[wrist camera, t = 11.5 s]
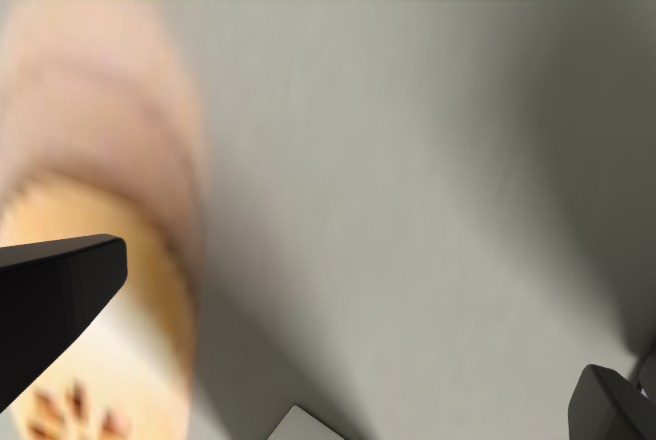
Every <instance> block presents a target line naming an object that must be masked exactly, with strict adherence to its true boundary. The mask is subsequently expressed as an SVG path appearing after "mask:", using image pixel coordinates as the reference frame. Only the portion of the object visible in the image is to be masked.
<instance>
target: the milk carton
mask: <svg viewBox="0 0 656 440" xmlns="http://www.w3.org/2000/svg"><path fill="white" fill-rule="evenodd" d="M267 440H345V439H343V438H342V437H340V436H339V435H338V434H336V433H335V432H333V431H332V430H331V429H329V428H328V427H326V426H325V425H323V424H322V423H321V422H319V421H318V420H316V419H315V418H313V417H312V416H311V415H309V414H308V413H306V412H305V411H304V410H302V409H301V408H299V407H298V406H296V405H294V406H293V407H292V408H291V410H290V411H289V412H288V413H287V415H286V416H285V417H284V418H283V420H282V421H281V422H280V424H279V425H278V426H277V427H276V429H275V430H274V431H273V433H272V434H271V435H270V436H269V438H268V439H267Z"/></svg>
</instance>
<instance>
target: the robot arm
mask: <svg viewBox="0 0 656 440" xmlns="http://www.w3.org/2000/svg"><path fill="white" fill-rule="evenodd" d="M127 274H128V270H127V248H126V243H125V241H124V240H123V239H122V238H120V237H117V236H113V235H110V234H98V235H90V236H83V237H75V238H68V239H60V240H53V241H45V242H38V243H31V244H23V245H16V246H8V247H1V248H0V414H1V413H2V412H3V411H4V410H5V409H6V408H7V407H8V406H9V405H10V404H11V403H12V402H13V401H14V400H15V399H16V398H17V397H18V396H19V395H20V394H21V393H22V392H23V391H24V390H25V389H26V388H27V387H29V386H30V385H31V384H32V383H33V382H34V381H35V380H36V379H37V378H38V377H39V376H40V375H41V374H42V373H43V372H44V371H45V370H46V369H47V368H48V367H49V366H50V365H51V364H52V363H53V362H54V361H55V360H56V359H57V358H58V357H59V356H60V355H61V354H62V353H63V352H64V351H66V350H67V349H68V348H69V347H70V346H71V345H72V344H73V343H74V341H75V340H76V339H77V338H78V337H79V336H80V335H81V334H82V333H83V332H84V331H85V329H86V328H87V327H88V326H89V325H90V324H91V322H92V321H93V320H94V319H95V318H96V317H97V315H98V314H99V313H100V312H101V311H102V309H103V308H104V307H105V306H106V305H107V304H108V302H109V301H110V300H111V299H112V298H113V297H114V295H115V294H116V293H117V292H118V291H119V289H120V288H121V287H122V286H123V285H124V283H125V281H126V278H127ZM638 379H639V381H640V383H639V385H638V387H637V389H636V388H635V387H634V386H633V385H632V384H631V383H629V382H628V381H627V380H626V379H625V378H624V377H622V376H621V375H620V374H619V373H618V372H616V371H615V370H613V369H609V368H605V367H602V366H598V365H594V364H589V365H587V366H586V367H585V368H584V369H583V371H582V374H581V376H580V378H579V381H578V383H577V385H576V388H575V390H574V393H573V395H572V397H571V400H570V403H569V407H568V425H569V440H656V340H655V342H654V344H653V346H652V348H651V350H650V353H649V355H648V357H647V359H646V361H645V363H644V365H643V367H642V369H641V371H640V373H639V375H638Z"/></svg>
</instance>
